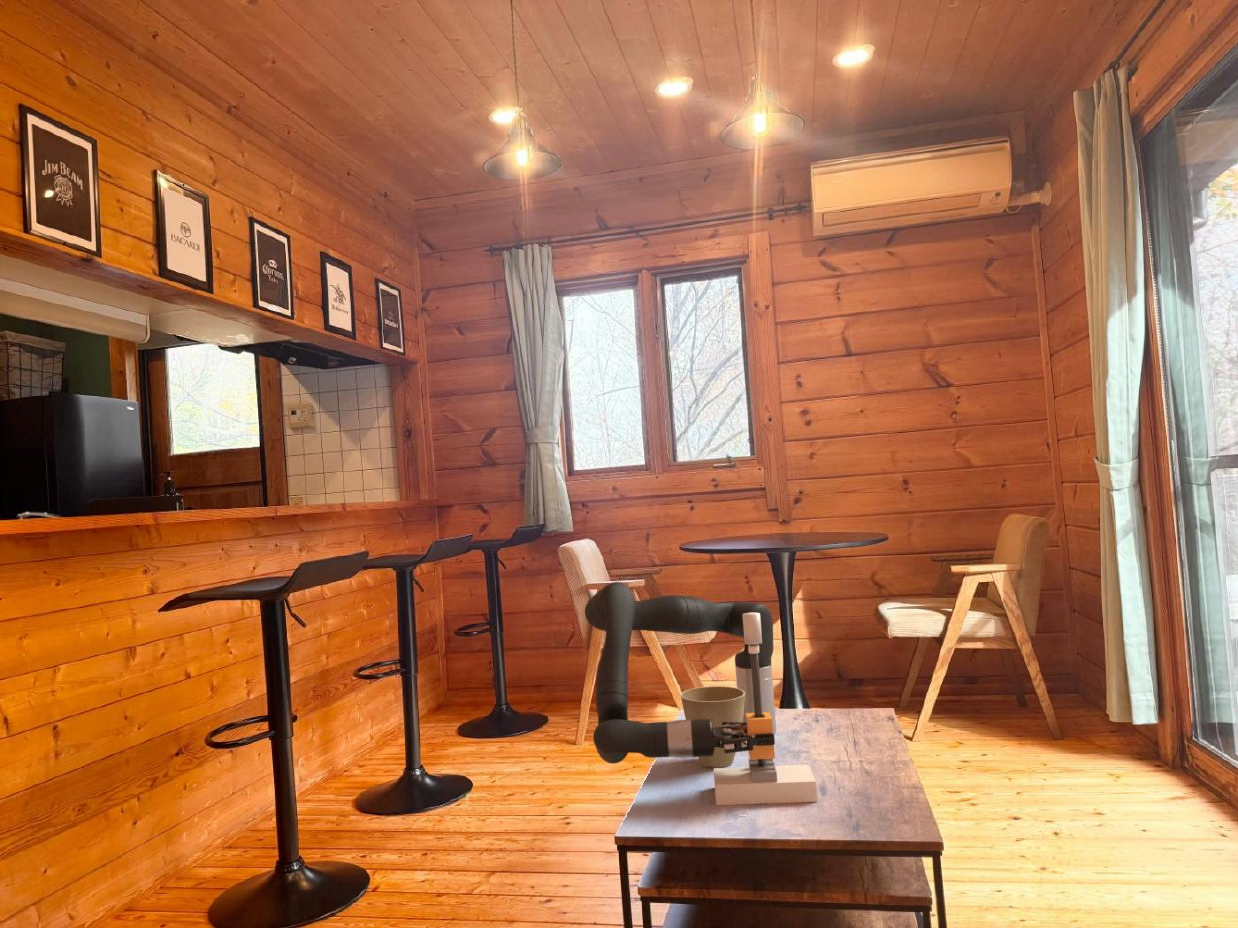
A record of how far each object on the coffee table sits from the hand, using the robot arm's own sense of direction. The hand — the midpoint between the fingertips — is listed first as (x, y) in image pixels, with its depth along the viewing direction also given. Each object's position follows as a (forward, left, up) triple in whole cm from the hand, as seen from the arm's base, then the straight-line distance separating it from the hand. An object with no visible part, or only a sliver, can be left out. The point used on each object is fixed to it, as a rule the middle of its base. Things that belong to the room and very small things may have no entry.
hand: (772, 734), depth 172 cm
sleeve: (0, -3, -4) cm, 5 cm away
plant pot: (-21, -12, -12) cm, 27 cm away
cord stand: (0, -3, -12) cm, 12 cm away
